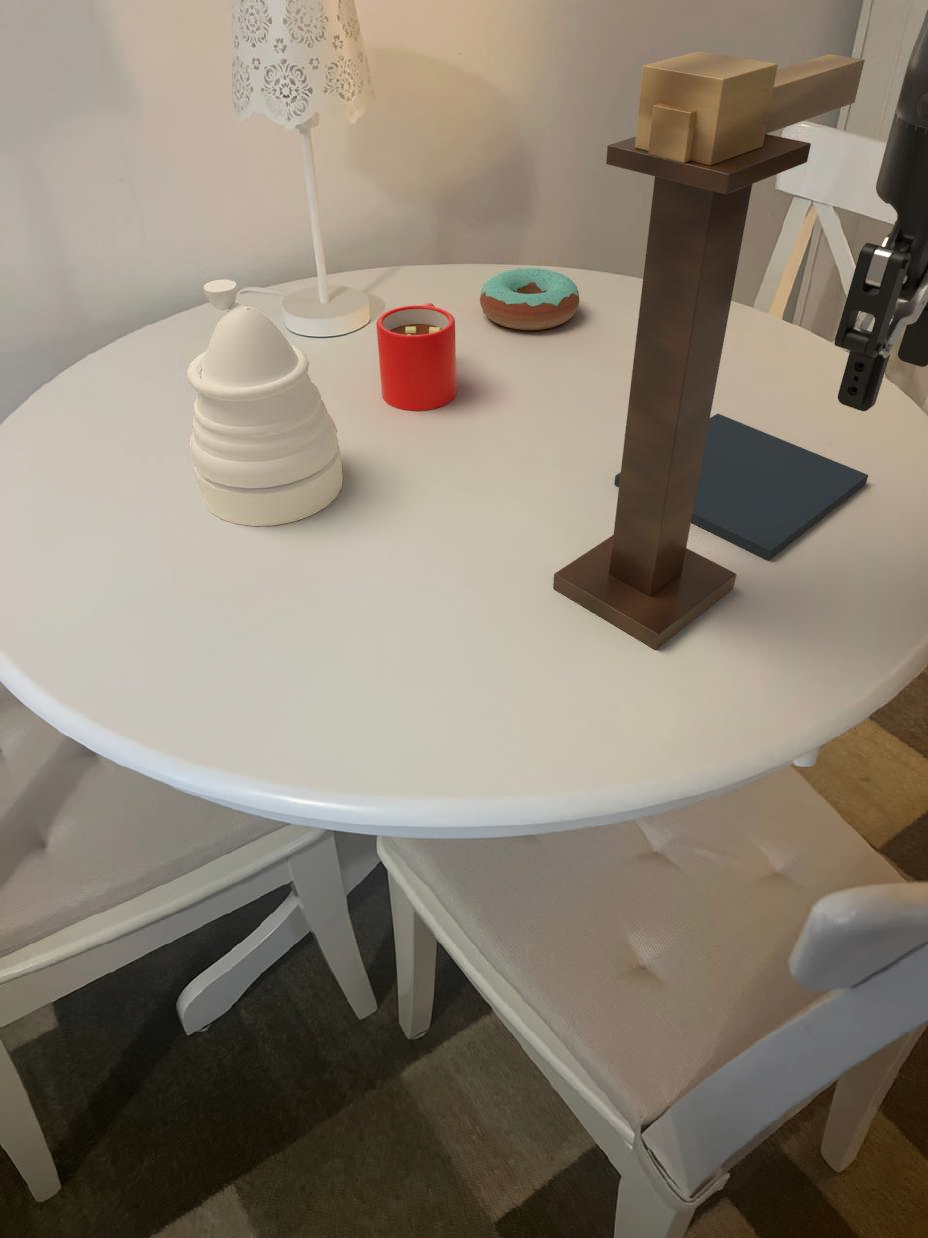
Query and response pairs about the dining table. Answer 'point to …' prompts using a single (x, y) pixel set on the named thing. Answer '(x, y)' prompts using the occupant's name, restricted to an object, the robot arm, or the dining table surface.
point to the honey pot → (259, 422)
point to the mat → (764, 487)
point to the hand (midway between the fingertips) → (885, 382)
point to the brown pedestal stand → (673, 392)
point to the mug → (417, 357)
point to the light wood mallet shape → (734, 102)
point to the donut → (529, 299)
